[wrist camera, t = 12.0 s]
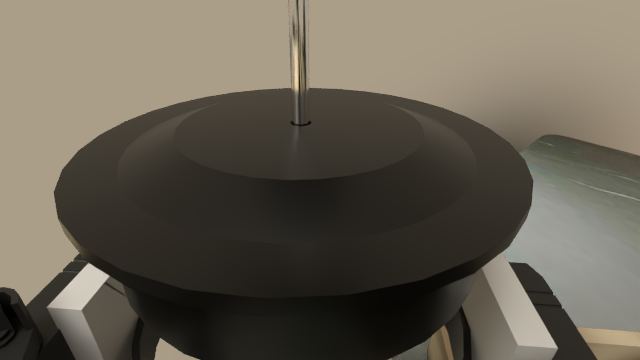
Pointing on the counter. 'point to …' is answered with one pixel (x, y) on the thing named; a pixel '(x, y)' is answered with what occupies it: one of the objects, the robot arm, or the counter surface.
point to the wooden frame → (607, 345)
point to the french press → (295, 219)
